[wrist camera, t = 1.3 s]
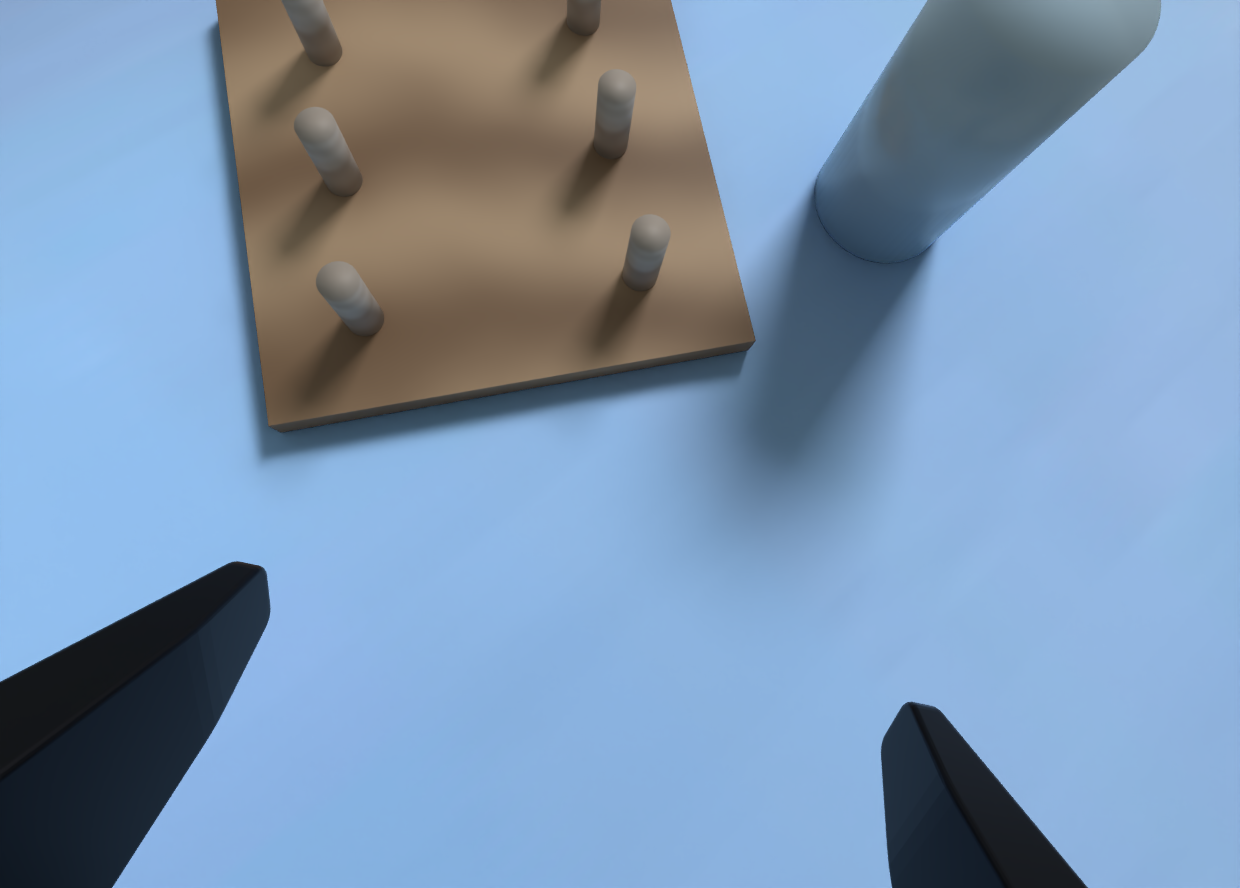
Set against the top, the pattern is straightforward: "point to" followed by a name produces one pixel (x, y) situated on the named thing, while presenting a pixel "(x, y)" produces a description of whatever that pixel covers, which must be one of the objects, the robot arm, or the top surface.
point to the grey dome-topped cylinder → (967, 112)
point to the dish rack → (470, 199)
